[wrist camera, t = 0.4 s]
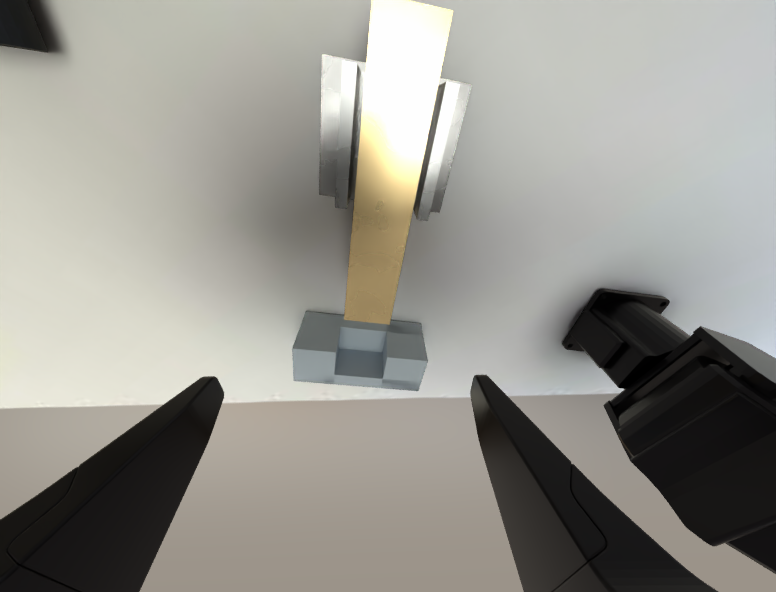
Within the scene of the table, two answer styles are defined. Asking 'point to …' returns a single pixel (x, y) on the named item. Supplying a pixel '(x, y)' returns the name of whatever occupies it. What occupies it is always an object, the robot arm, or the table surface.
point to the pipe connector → (19, 26)
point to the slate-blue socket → (359, 352)
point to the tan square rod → (391, 147)
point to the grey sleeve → (344, 125)
